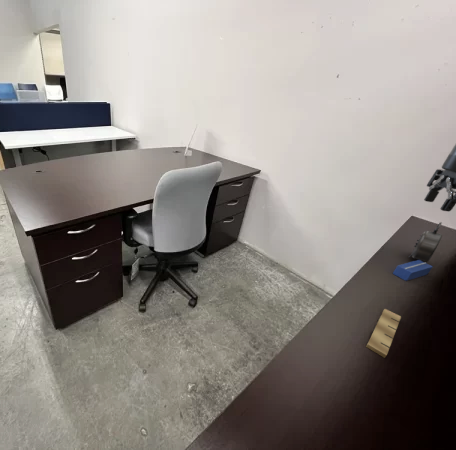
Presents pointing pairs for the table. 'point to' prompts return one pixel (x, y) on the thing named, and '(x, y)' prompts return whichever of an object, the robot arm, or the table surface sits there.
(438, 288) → the table surface
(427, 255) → the alarm clock
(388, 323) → the ruler
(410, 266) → the pencil case
